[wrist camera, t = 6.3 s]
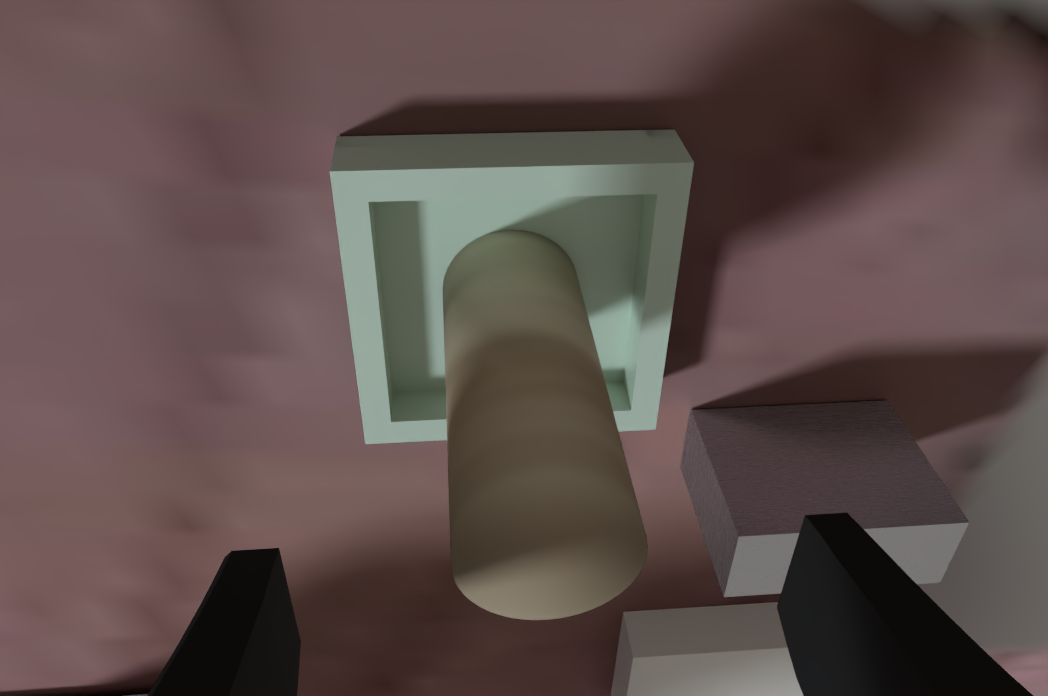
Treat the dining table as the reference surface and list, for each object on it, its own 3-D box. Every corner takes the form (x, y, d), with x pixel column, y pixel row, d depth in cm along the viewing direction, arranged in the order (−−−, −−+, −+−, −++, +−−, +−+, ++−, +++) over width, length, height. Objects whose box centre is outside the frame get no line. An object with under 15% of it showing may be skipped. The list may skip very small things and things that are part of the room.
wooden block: (867, 458, 22) (940, 582, 19) (681, 468, 22) (723, 597, 19) (888, 400, 21) (969, 522, 18) (691, 409, 21) (738, 536, 18)
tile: (801, 694, 30) (821, 749, 29) (605, 708, 30) (614, 765, 28) (842, 585, 27) (869, 642, 25) (620, 599, 26) (633, 657, 24)
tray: (642, 386, 20) (655, 429, 19) (369, 399, 20) (365, 444, 19) (674, 129, 16) (694, 162, 15) (337, 136, 16) (329, 171, 15)
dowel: (573, 341, 19) (636, 614, 13) (444, 345, 18) (452, 625, 13) (581, 228, 17) (658, 485, 11) (440, 231, 17) (448, 496, 11)
